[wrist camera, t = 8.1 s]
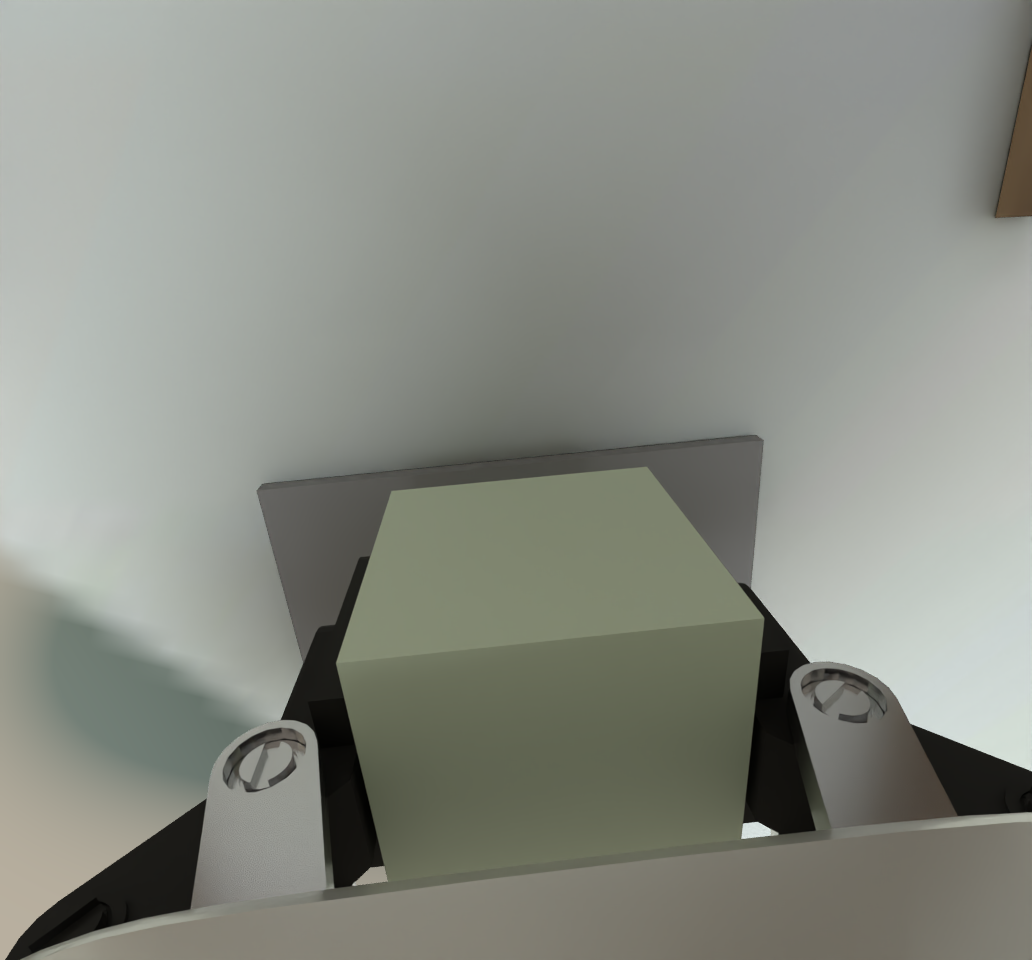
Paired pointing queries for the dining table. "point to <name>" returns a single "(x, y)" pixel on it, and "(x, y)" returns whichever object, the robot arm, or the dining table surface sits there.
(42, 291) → the dining table surface
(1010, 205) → the open wooden frame
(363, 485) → the grey mat
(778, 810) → the robot arm
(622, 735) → the sage block
